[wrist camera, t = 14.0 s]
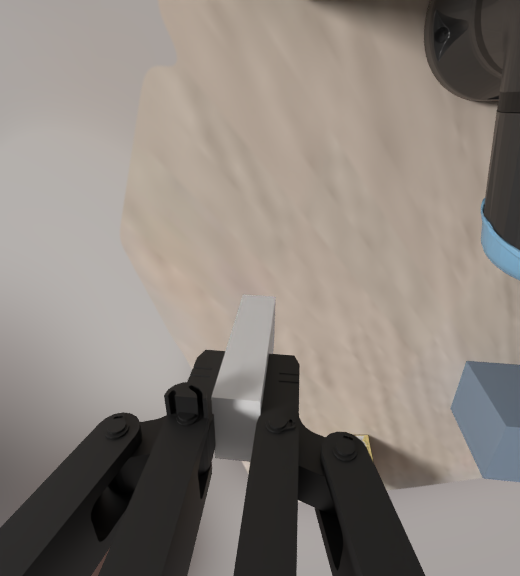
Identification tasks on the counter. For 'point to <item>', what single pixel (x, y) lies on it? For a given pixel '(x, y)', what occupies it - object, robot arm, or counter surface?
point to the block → (491, 417)
